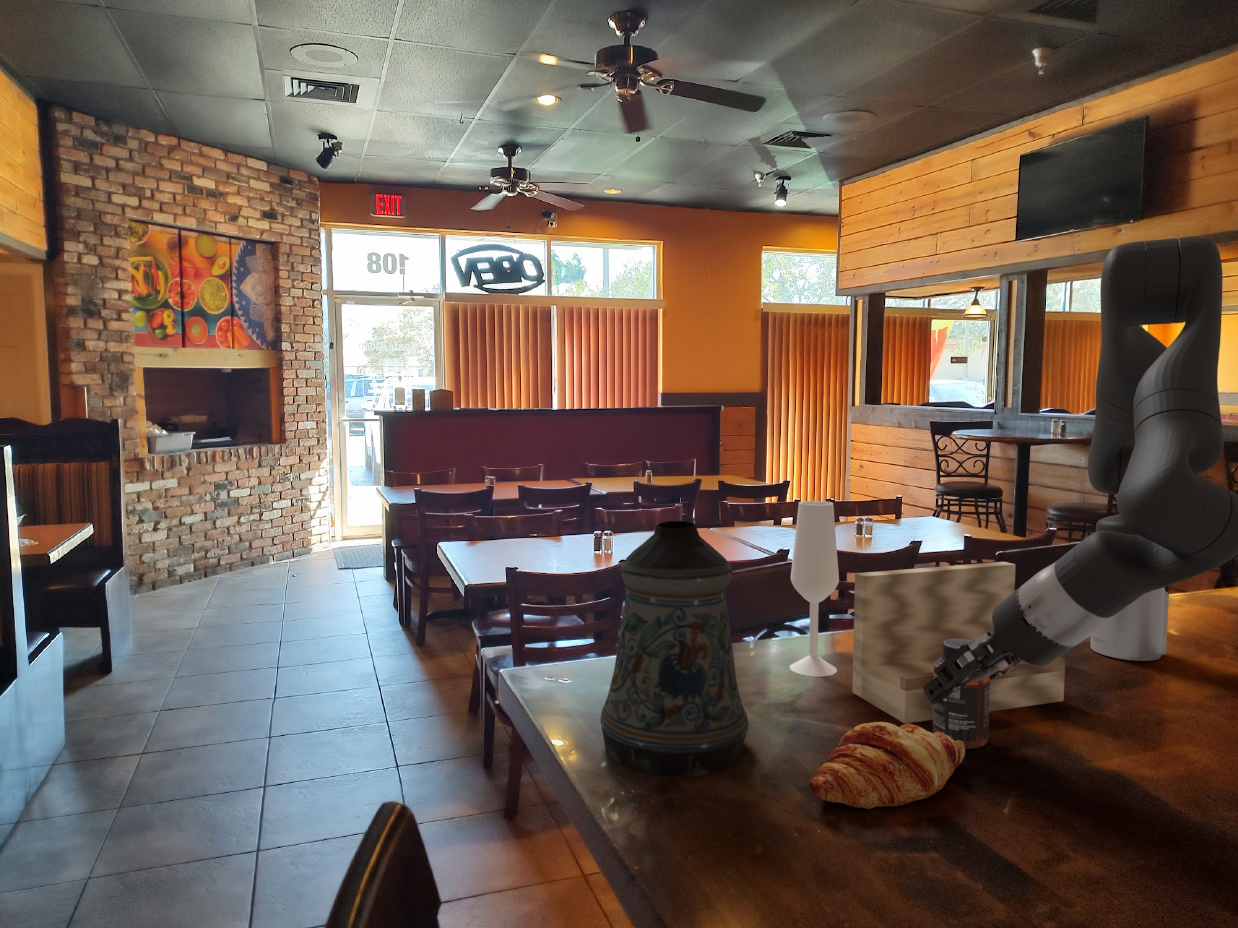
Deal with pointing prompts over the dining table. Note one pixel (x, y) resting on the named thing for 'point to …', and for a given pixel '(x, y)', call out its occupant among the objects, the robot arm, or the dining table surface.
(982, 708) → the supplement bottle
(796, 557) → the champagne flute
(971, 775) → the dining table surface
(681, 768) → the beer stein
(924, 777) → the croissant
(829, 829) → the dining table surface
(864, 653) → the board
